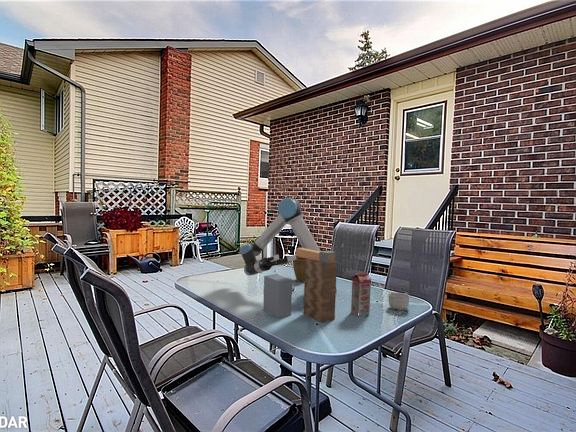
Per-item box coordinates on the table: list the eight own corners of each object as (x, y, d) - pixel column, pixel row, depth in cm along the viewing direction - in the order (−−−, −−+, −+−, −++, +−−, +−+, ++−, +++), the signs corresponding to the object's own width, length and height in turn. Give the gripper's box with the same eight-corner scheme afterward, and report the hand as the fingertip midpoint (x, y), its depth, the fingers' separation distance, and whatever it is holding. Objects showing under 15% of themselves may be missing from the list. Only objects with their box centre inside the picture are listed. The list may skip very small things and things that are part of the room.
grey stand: (263, 310, 170) (264, 275, 170) (275, 307, 175) (276, 274, 174) (278, 318, 160) (279, 281, 159) (291, 314, 165) (292, 279, 164)
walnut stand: (303, 314, 167) (305, 259, 166) (315, 311, 172) (317, 257, 170) (322, 322, 156) (325, 263, 155) (334, 319, 161) (336, 262, 160)
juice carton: (350, 312, 172) (352, 270, 171) (361, 311, 174) (363, 269, 173) (358, 316, 166) (360, 273, 165) (369, 315, 168) (371, 272, 167)
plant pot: (312, 283, 231) (313, 260, 231) (291, 282, 231) (292, 259, 231) (311, 278, 246) (312, 257, 245) (291, 277, 246) (292, 256, 246)
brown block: (294, 256, 174) (294, 246, 174) (302, 255, 178) (303, 245, 178) (326, 263, 155) (326, 253, 155) (335, 262, 159) (335, 252, 159)
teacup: (398, 313, 174) (399, 298, 173) (383, 306, 183) (384, 292, 183) (417, 309, 180) (417, 295, 180) (401, 304, 190) (402, 290, 189)
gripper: (279, 270, 208) (303, 263, 194) (247, 271, 190) (271, 263, 176) (277, 259, 210) (301, 251, 196) (246, 258, 192) (269, 249, 178)
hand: (287, 256), depth 186 cm, fingers open, 13 cm apart
